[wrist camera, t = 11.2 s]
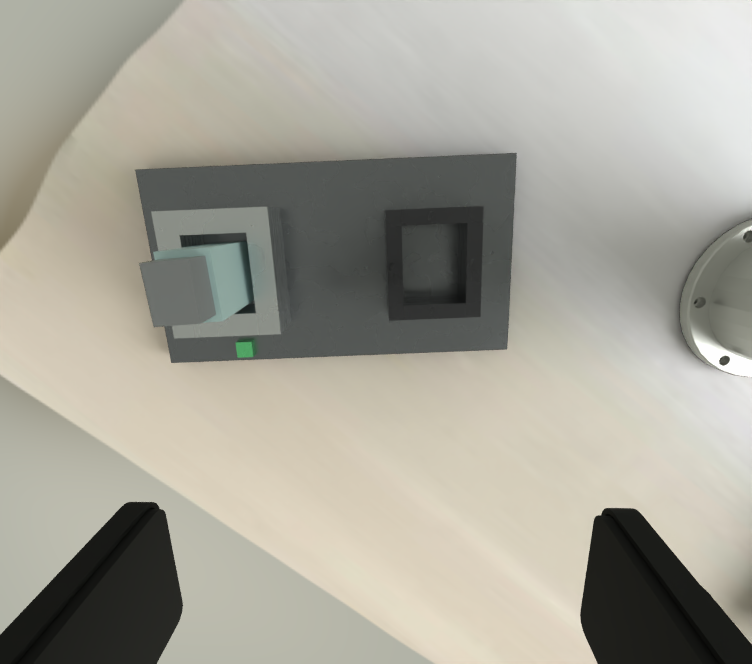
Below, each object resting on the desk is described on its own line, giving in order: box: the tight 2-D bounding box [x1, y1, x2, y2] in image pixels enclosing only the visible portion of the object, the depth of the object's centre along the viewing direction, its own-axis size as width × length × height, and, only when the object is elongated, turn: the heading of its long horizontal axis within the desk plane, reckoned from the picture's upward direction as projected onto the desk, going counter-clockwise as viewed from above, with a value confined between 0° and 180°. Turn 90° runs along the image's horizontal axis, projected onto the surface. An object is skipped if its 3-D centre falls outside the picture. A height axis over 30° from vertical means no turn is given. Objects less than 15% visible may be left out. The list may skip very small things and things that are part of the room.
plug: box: [139, 241, 254, 327], centre depth 25 cm, size 3×4×10 cm
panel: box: [135, 153, 517, 363], centre depth 29 cm, size 26×14×5 cm, turn 92°
